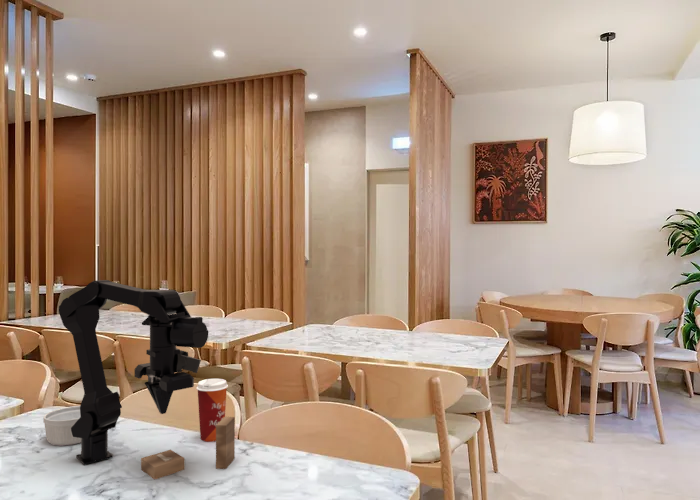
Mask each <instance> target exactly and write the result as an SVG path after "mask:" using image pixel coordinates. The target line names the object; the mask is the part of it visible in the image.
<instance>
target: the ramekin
mask: <svg viewBox="0 0 700 500" xmlns="http://www.w3.org/2000/svg"><path fill="white" fill-rule="evenodd" d="M80 417H81V416H80V405H73V406H67V407H62V408H59V409H55V410H51V411H49V412H47V413H46V414H44V416H43V423H44V430H45V436H46V437H45V438H46V440H47V442H49V444H50V445H53V446H71V445H77V444H81V438H77V437H73V435H72V432H71V427H72V426H73V425H74V424H75V423H76V422H77V421H78V419H79V418H80Z"/></svg>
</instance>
